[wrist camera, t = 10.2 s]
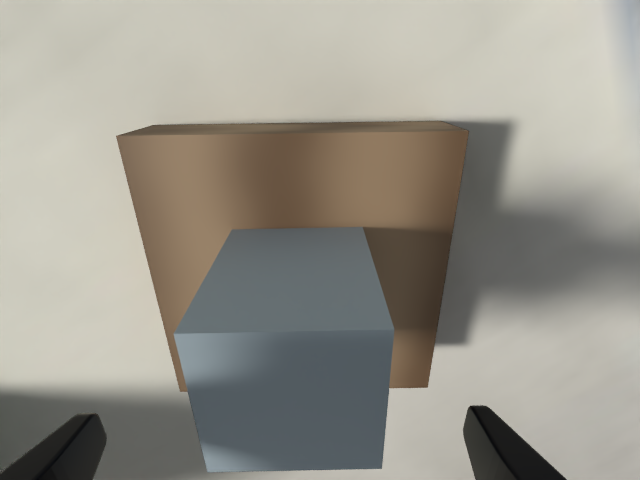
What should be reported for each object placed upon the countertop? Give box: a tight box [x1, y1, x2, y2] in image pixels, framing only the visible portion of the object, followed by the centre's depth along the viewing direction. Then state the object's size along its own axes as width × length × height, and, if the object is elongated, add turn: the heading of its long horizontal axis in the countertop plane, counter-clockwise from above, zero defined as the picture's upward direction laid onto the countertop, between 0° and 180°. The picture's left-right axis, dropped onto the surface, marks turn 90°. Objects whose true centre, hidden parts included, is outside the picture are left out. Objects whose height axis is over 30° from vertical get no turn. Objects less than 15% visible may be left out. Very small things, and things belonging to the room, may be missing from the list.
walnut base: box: [116, 121, 469, 392], centre depth 16 cm, size 12×12×3 cm
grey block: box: [174, 227, 394, 472], centre depth 12 cm, size 5×5×6 cm
